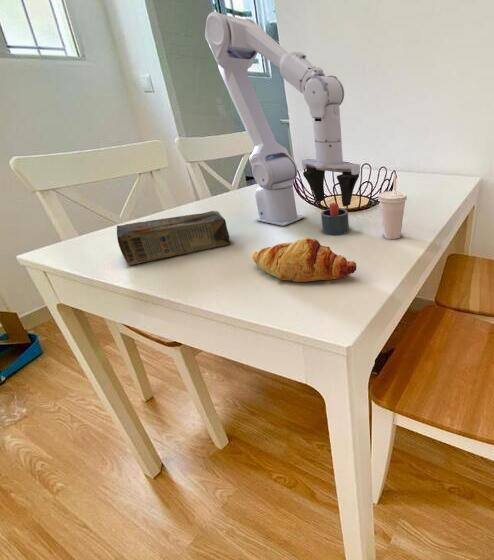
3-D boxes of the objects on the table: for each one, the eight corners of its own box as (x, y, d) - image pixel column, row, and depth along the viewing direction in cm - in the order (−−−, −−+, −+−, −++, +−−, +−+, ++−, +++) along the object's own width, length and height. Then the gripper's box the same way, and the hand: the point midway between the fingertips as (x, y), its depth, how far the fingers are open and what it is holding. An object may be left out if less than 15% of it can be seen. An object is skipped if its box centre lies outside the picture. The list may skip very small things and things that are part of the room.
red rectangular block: (329, 229, 82) (327, 204, 79) (334, 226, 84) (332, 202, 81) (336, 230, 81) (334, 205, 79) (341, 227, 83) (339, 203, 80)
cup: (317, 232, 82) (315, 214, 80) (333, 224, 87) (331, 207, 84) (338, 236, 79) (337, 217, 77) (353, 228, 84) (352, 210, 82)
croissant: (249, 287, 65) (226, 262, 59) (271, 247, 70) (253, 219, 64) (353, 301, 60) (340, 275, 53) (368, 256, 65) (359, 227, 59)
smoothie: (403, 242, 76) (404, 178, 70) (375, 240, 77) (373, 176, 71) (408, 232, 82) (409, 172, 75) (382, 230, 83) (381, 170, 76)
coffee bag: (232, 245, 75) (225, 215, 72) (126, 268, 65) (113, 235, 62) (224, 234, 80) (217, 207, 77) (125, 254, 70) (112, 224, 67)
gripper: (289, 140, 73) (297, 203, 80) (345, 145, 67) (349, 212, 74) (310, 137, 79) (317, 196, 85) (364, 141, 73) (366, 204, 79)
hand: (333, 203), depth 80 cm, fingers open, 7 cm apart
